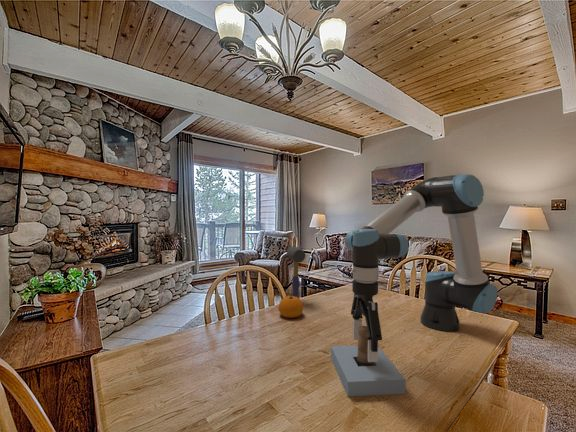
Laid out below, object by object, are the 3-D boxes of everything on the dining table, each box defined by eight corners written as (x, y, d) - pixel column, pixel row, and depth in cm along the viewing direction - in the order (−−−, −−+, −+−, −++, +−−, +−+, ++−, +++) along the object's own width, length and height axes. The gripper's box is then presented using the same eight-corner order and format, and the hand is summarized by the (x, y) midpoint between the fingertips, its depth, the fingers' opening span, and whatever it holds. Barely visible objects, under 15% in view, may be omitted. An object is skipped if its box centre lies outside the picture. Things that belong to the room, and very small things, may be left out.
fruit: (307, 314, 138) (307, 293, 138) (295, 322, 128) (295, 299, 128) (287, 309, 144) (287, 289, 144) (273, 316, 135) (273, 295, 134)
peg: (368, 369, 90) (369, 325, 90) (373, 377, 86) (374, 331, 86) (355, 370, 90) (355, 325, 90) (359, 378, 86) (360, 331, 85)
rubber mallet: (306, 306, 149) (306, 248, 148) (292, 307, 147) (292, 249, 146) (298, 299, 161) (298, 245, 160) (285, 300, 159) (285, 245, 158)
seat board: (377, 356, 99) (377, 344, 98) (405, 393, 79) (405, 379, 79) (330, 358, 97) (331, 346, 97) (347, 396, 77) (347, 381, 77)
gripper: (342, 271, 99) (341, 332, 100) (367, 292, 75) (366, 373, 75) (363, 271, 100) (362, 331, 101) (395, 291, 75) (394, 372, 76)
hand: (364, 349), depth 88 cm, fingers open, 13 cm apart
